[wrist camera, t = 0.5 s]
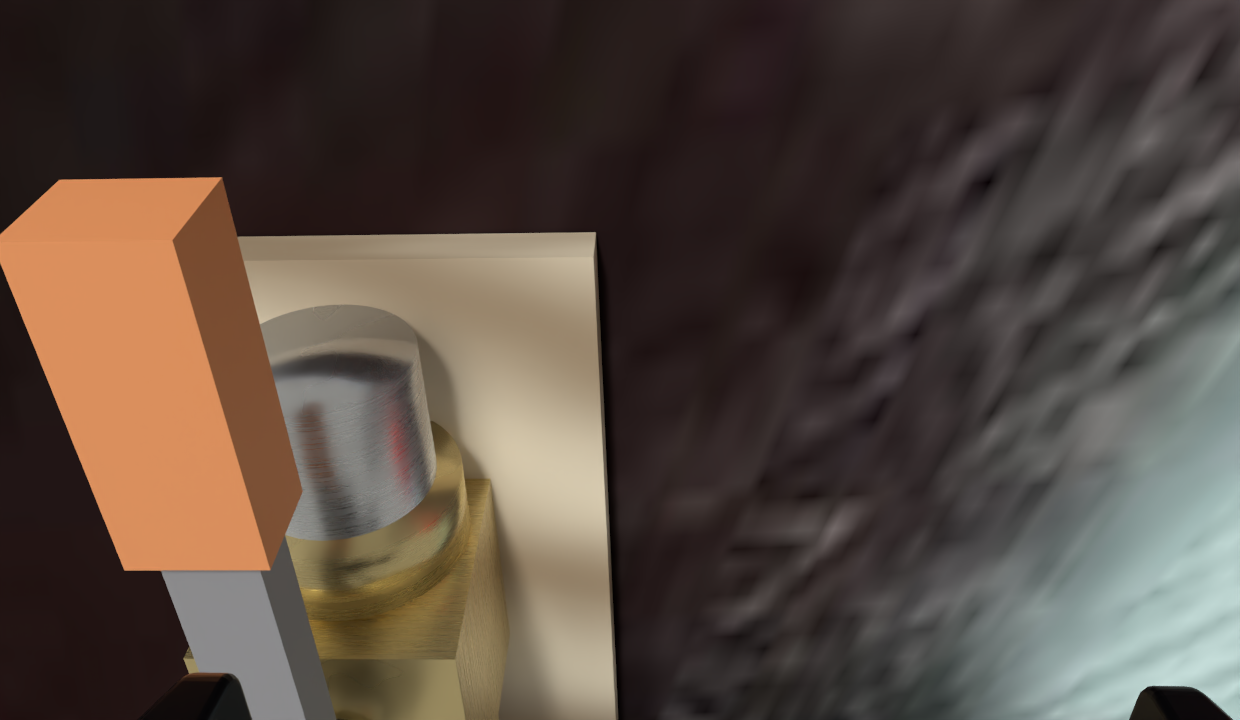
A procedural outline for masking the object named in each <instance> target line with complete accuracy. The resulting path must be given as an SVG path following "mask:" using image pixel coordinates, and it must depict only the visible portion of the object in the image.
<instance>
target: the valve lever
mask: <svg viewBox="0 0 1240 720" xmlns="http://www.w3.org/2000/svg"><path fill="white" fill-rule="evenodd" d="M0 263H1V266H2V268H3V271H4V273H5V276H6V278H7V281H8V283H9V286H10V288H11V291H12V293H13V295H14V298H15V300H16V303H17V305H18V308H19V310H20V313H21V315H22V318H23V320H24V323H25V325H26V328H27V330H28V333H29V335H30V338H31V340H32V342H33V345H34V347H35V350H36V352H37V355H38V357H39V360H40V362H41V365H42V367H43V370H44V372H45V375H46V377H47V380H48V382H49V385H50V387H51V390H52V392H53V394H54V397H55V399H56V402H57V404H58V407H59V409H60V412H61V414H62V417H63V419H64V422H65V424H66V427H67V429H68V432H69V434H70V437H71V439H72V441H73V444H74V446H75V449H76V451H77V454H78V456H79V459H80V461H81V464H82V466H83V469H84V471H85V474H86V476H87V479H88V481H89V484H90V486H91V488H92V491H93V493H94V496H95V498H96V501H97V503H98V506H99V508H100V511H101V513H102V516H103V518H104V521H105V523H106V526H107V528H108V531H109V533H110V535H111V538H112V540H113V543H114V545H115V548H116V550H117V553H118V555H119V558H120V560H121V563H122V565H123V568H124V570H161V572H162V575H163V577H164V580H165V583H166V585H167V588H168V590H169V593H170V596H171V598H172V601H173V604H174V606H175V609H176V612H177V614H178V617H179V620H180V622H181V625H182V628H183V630H184V633H185V635H186V638H187V641H188V643H189V646H190V649H191V651H192V654H193V657H194V659H195V662H196V665H197V667H198V670H199V672H206V673H231V674H233V675H235V676H236V677H237V678H238V679H239V681H240V683H241V686H242V689H243V692H244V695H245V698H246V702H247V705H248V708H249V711H250V714H251V717H252V720H336V716H335V712H334V709H333V705H332V702H331V698H330V694H329V691H328V687H327V684H326V680H325V677H324V673H323V669H322V666H321V662H320V659H319V655H318V651H317V648H316V644H315V641H314V637H313V634H312V630H311V626H310V623H309V619H308V616H307V612H306V608H305V605H304V601H303V598H302V594H301V590H300V587H299V583H298V580H297V576H296V573H295V569H294V565H293V562H292V558H291V555H290V551H289V547H288V544H287V540H286V537H285V534H286V531H287V529H288V526H289V524H290V521H291V519H292V516H293V514H294V512H295V509H296V507H297V504H298V502H299V499H300V497H301V495H302V492H303V490H302V486H301V482H300V478H299V475H298V471H297V467H296V463H295V459H294V455H293V451H292V447H291V444H290V440H289V436H288V432H287V428H286V424H285V420H284V416H283V413H282V409H281V405H280V401H279V397H278V393H277V389H276V385H275V382H274V378H273V374H272V370H271V366H270V362H269V358H268V354H267V351H266V347H265V343H264V339H263V335H262V331H261V327H260V323H259V320H258V316H257V312H256V308H255V304H254V300H253V296H252V292H251V289H250V285H249V281H248V277H247V273H246V269H245V265H244V261H243V258H242V254H241V250H240V246H239V242H238V238H237V234H236V230H235V227H234V223H233V219H232V215H231V211H230V207H229V203H228V199H227V196H226V192H225V188H224V184H223V180H222V178H155V179H86V180H59V181H58V182H57V183H56V184H55V185H53V186H52V187H51V188H50V189H49V190H48V191H47V192H46V193H45V194H44V195H43V196H42V197H40V198H39V199H38V200H37V201H36V202H35V203H34V204H33V205H32V206H31V207H30V208H29V209H28V210H26V211H25V212H24V213H23V214H22V215H21V216H20V217H19V218H18V219H17V220H16V221H15V222H13V223H12V224H11V225H10V226H9V227H8V228H7V229H6V230H5V231H4V232H3V233H2V234H0Z"/></svg>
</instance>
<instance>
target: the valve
mask: <svg viewBox="0 0 1240 720" xmlns="http://www.w3.org/2000/svg"><path fill="white" fill-rule="evenodd" d="M260 327H261V331H262V335H263V339H264V343H265V347H266V351H267V354H268V358H269V362H270V366H271V370H272V374H273V378H274V382H275V385H276V389H277V393H278V397H279V401H280V405H281V409H282V413H283V416H284V420H285V424H286V428H287V432H288V436H289V440H290V444H291V447H292V451H293V455H294V459H295V463H296V467H297V471H298V475H299V478H300V482H301V486H302V490H303V492H302V495H301V497H300V499H299V502H298V504H297V507H296V509H295V512H294V514H293V516H292V519H291V521H290V524H289V526H288V529H287V531H286V534H285V537H286V540H287V544H288V547H289V551H290V555H291V558H292V562H293V565H294V569H295V573H296V576H297V580H298V583H299V587H300V590H301V594H302V598H303V601H304V605H305V608H306V612H307V616H308V619H309V623H310V626H311V630H312V634H313V637H314V641H315V644H316V648H317V651H318V655H319V659H320V662H321V666H322V669H323V673H324V677H325V680H326V684H327V687H328V691H329V694H330V698H331V702H332V705H333V709H334V712H335V716H336V720H499V714H498V713H499V707H500V700H501V693H502V686H503V679H504V672H505V665H506V658H507V652H508V645H509V638H510V629H509V621H508V613H507V606H506V598H505V590H504V582H503V574H502V566H501V558H500V550H499V542H498V534H497V526H496V519H495V511H494V503H493V495H492V487H491V479H465V478H464V471H463V465H462V458H461V454H460V451H459V448H458V446H457V444H456V442H455V440H454V439H453V438H452V437H451V435H450V434H449V433H448V432H447V431H446V430H445V429H444V428H442V427H441V426H440V425H438V424H437V423H435V422H433V421H430V417H429V411H428V405H427V399H426V393H425V386H424V380H423V374H422V368H421V362H420V356H419V349H418V343H417V339H416V335H415V333H414V331H413V329H412V328H411V327H410V326H409V325H408V323H406V322H405V321H404V320H403V319H401V318H400V317H398V316H396V315H394V314H392V313H390V312H387V311H385V310H381V309H378V308H373V307H368V306H361V305H326V306H317V307H311V308H306V309H301V310H297V311H293V312H290V313H287V314H283V315H280V316H278V317H275V318H273V319H270V320H268V321H266V322H264V323H261V324H260ZM184 661H185V664H186V666H187V669H188V671H189V674H190V673H196V672H199V670H198V667H197V665H196V662H195V659H194V657H193V654H192V651H191V649H190V646H189V648H188V650H187V652H186V655H185V657H184Z"/></svg>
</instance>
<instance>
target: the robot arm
mask: <svg viewBox="0 0 1240 720" xmlns="http://www.w3.org/2000/svg"><path fill="white" fill-rule="evenodd" d="M138 720H252V717H251V714H250V711H249V708H248V705H247V702H246V698H245V695H244V692H243V689H242V686H241V683H240V681H239V679H238V678H237V677H236V676H235V675H233V674H231V673H206V672H196V673H190V674H188V675H186V676H184V677H183V678H181V679H180V680H179V681H178V682H176V683H175V684H174V685H173V686H172V687H171V688H170V689H169V690H168V691H167V692H166V693H165V694H164V695H163V696H162V697H161V698H160V699H159V700H158V701H157V702H156V703H155V704H154V705H153V706H151V707H150V708H149V709H148V710H147V711H146V712H145V713H144V714H143V715H142V716H141V717H140V718H139V719H138ZM1129 720H1233V719H1232V718H1231V717H1230V716H1229V715H1227V714H1226V713H1225V712H1224V711H1223V710H1222V709H1221V708H1220V707H1219V706H1217V705H1216V704H1215V703H1214V702H1213V701H1212V700H1211V699H1210V698H1209V697H1207V696H1206V695H1205V694H1204V693H1202V692H1200V691H1199V690H1197V689H1195V688H1192V687H1185V686H1150V687H1147V688H1146V689H1144V690H1143V691H1142V692H1141V693H1140V695H1139V697H1138V699H1137V701H1136V704H1135V706H1134V709H1133V712H1132V714H1131V717H1130V719H1129Z"/></svg>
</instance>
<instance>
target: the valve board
mask: <svg viewBox="0 0 1240 720" xmlns="http://www.w3.org/2000/svg"><path fill="white" fill-rule="evenodd" d="M237 238H238V242H239V246H240V250H241V254H242V258H243V261H244V265H245V269H246V273H247V277H248V281H249V285H250V289H251V292H252V296H253V300H254V304H255V308H256V312H257V316H258V320H259V323H260V324H261V323H264V322H266V321H268V320H270V319H273V318H275V317H278V316H280V315H283V314H287V313H290V312H293V311H297V310H301V309H306V308H311V307H317V306H326V305H361V306H368V307H373V308H378V309H381V310H385V311H387V312H390V313H392V314H394V315H396V316H398V317H400V318H401V319H403V320H404V321H405V322H406V323H408V325H409V326H410V327H411V328H412V329H413V331H414V333H415V335H416V339H417V343H418V349H419V356H420V362H421V368H422V374H423V380H424V386H425V393H426V399H427V405H428V411H429V417H430V421H433V422H435V423H437V424H438V425H440V426H441V427H442V428H444V429H445V430H446V431H447V432H448V433H449V434H450V435H451V437H452V438H453V439H454V440H455V442H456V444H457V446H458V448H459V451H460V454H461V458H462V465H463V471H464V478H465V479H491V487H492V495H493V503H494V511H495V519H496V526H497V534H498V542H499V550H500V558H501V566H502V574H503V582H504V590H505V598H506V606H507V613H508V621H509V629H510V638H509V645H508V652H507V658H506V665H505V672H504V679H503V686H502V693H501V700H500V707H499V713H498V714H499V720H618V701H617V679H616V657H615V636H614V614H613V592H612V570H611V549H610V527H609V505H608V484H607V462H606V440H605V419H604V397H603V375H602V354H601V332H600V310H599V288H598V267H597V245H596V232H585V233H504V234H423V235H342V236H261V237H237Z"/></svg>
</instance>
